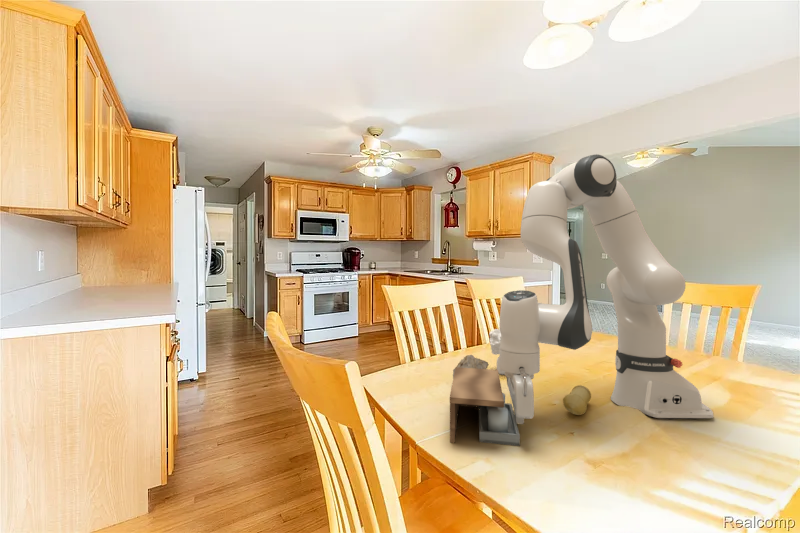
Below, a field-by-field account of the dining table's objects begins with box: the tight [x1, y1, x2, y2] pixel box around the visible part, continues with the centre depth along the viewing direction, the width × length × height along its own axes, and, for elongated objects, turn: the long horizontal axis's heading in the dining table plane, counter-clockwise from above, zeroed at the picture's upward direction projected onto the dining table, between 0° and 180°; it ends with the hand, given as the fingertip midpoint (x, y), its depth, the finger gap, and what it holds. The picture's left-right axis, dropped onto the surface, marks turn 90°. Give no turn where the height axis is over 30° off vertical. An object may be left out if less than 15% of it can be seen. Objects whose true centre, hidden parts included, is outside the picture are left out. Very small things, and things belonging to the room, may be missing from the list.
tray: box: [478, 402, 521, 447], centre depth 85 cm, size 8×17×2 cm, turn 168°
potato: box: [562, 384, 592, 416], centre depth 93 cm, size 14×5×5 cm, turn 144°
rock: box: [452, 354, 490, 379], centre depth 111 cm, size 12×7×10 cm, turn 115°
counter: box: [449, 366, 504, 444], centre depth 86 cm, size 11×22×10 cm, turn 168°
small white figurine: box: [489, 328, 505, 376], centre depth 123 cm, size 10×11×15 cm
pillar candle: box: [488, 406, 508, 433], centre depth 80 cm, size 4×4×5 cm
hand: (519, 421), depth 83 cm, fingers closed, pressing on tray
